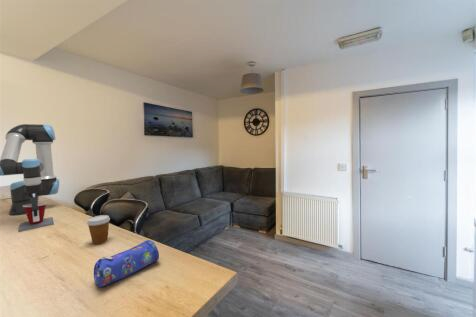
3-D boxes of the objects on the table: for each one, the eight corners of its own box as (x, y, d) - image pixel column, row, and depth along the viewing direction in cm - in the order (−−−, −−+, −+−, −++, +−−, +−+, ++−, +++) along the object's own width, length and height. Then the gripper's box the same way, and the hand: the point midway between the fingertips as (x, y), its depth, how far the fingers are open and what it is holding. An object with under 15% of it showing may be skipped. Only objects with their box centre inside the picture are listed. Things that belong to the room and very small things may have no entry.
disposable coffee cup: (100, 247, 98) (98, 222, 97) (83, 245, 100) (81, 221, 99) (115, 237, 107) (114, 215, 106) (100, 236, 109) (98, 214, 108)
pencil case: (98, 294, 67) (96, 266, 66) (90, 283, 72) (88, 257, 71) (161, 263, 84) (160, 240, 83) (151, 256, 89) (149, 234, 88)
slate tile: (20, 224, 128) (20, 223, 128) (52, 218, 139) (52, 216, 139) (18, 232, 118) (18, 230, 117) (53, 224, 128) (53, 222, 128)
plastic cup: (53, 219, 133) (51, 201, 132) (35, 226, 122) (33, 206, 121) (38, 219, 134) (36, 201, 133) (19, 226, 123) (17, 206, 122)
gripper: (41, 186, 120) (45, 222, 121) (41, 181, 138) (44, 212, 139) (23, 188, 115) (26, 225, 116) (25, 182, 133) (28, 215, 134)
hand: (36, 218), depth 128 cm, fingers open, 13 cm apart
